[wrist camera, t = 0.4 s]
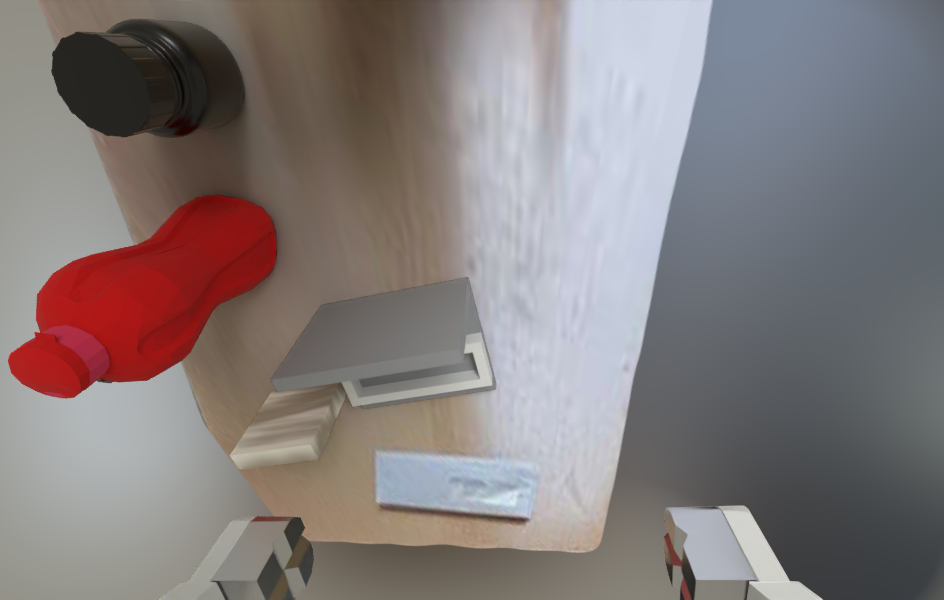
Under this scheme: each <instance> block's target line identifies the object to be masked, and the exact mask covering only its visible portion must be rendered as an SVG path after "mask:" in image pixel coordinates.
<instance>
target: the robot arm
mask: <svg viewBox="0 0 944 600" xmlns="http://www.w3.org/2000/svg"><path fill="white" fill-rule="evenodd" d="M664 521H665V524H666V527H667V530H668V533H667V534H666V535H665V536H664V554H665V562H666V566H667V571H668V575H669V578H670V581H671V585H672V587H673V588H674V589H675V590H676V591H677V592H678V593H679V594H680V600H823V599H821V598H820V597H819V596H817V595H816V594H814V593H813V592H812V591H810V590H809V589H808V588H806V587H805V586H804V585H802V584H801V583H800V582H793V581H789V579H788V577H787V575H786V574H785V572H784V570H783V568H782V567H781V565H780V563H779V562H778V560H777V558H776V556H775V555H774V553H773V551H772V549H771V548H770V546H769V544H768V542H767V541H766V539H765V537H764V535H763V534H762V532H761V530H760V529H759V527H758V525H757V523H756V522H755V520H754V518H753V516H752V515H751V513H750V511H749V510H748V509H747V508H746V507H745V506H718V507H716V506H705V507H676V508H666V510H665V520H664ZM304 529H305V527H304V524H303V522H302V520H301V518H300V517H259V516H257V517H236V518H235V519H233V520H232V521H231V522H230V523H229V524H228V526H227V527H226V528H225V530H224V531H223V533H222V534H221V536H220V537H219V538H218V540H217V541H216V543H215V544H214V546H213V547H212V548H211V550H210V551H209V553H208V554H207V556H206V557H205V559H204V560H203V562H202V563H201V564H200V566H199V567H198V569H197V570H196V571H195V573H194V574H193V576H192V577H191V579H190V580H189V581H188V582H181V583H180V584H179V585H177V586H176V587H175V588H173V589H172V590H171V591H169V592H168V593H166V594H165V595H164V596H162V597H161V598H160V599H158V600H296V599H295V596H296V595H298V594H299V593H300V592H301V591H302V590H303V589H304V588H305V587H306V586H307V583H308V581H309V578H310V576H311V573H312V567H313V562H314V555H313V548H312V545H311V543H310V541H309V540H307V539H306V538H305V537H304V536H302V533H303V531H304Z"/></svg>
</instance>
